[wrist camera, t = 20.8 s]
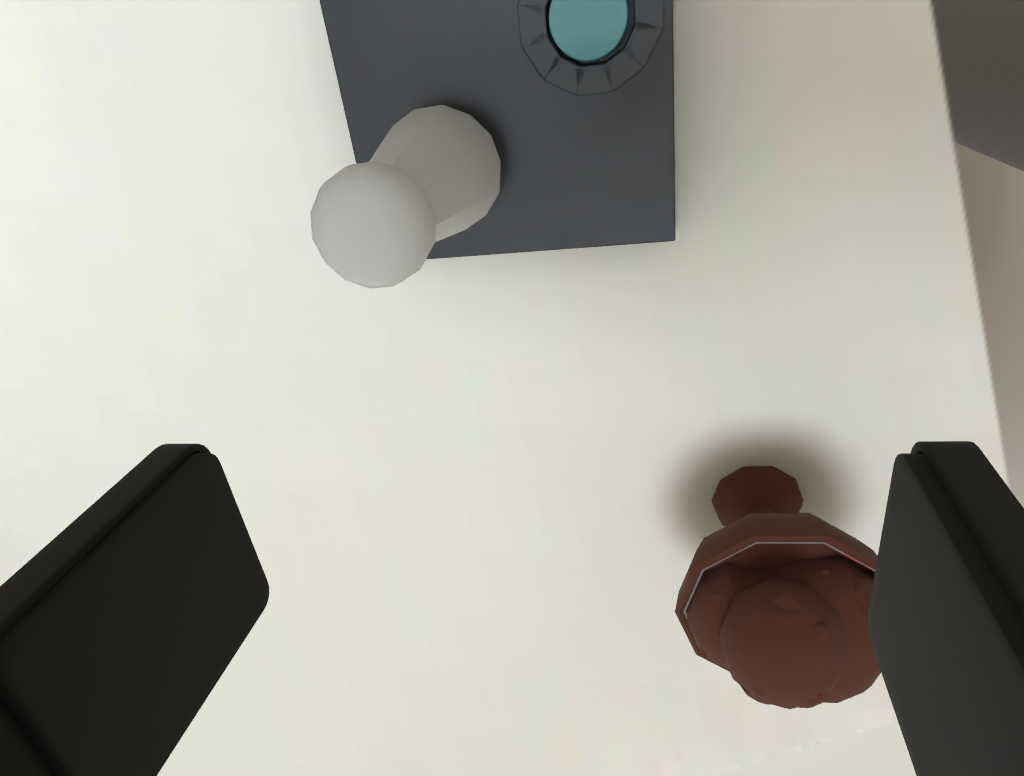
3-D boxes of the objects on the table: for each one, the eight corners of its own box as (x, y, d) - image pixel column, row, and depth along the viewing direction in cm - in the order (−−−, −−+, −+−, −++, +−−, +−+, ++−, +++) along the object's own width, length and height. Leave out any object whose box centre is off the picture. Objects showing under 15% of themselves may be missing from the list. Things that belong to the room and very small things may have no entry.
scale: (669, -88, 29) (673, -99, 26) (673, 230, 36) (677, 251, 33) (328, -31, 32) (296, -34, 29) (389, 252, 39) (368, 273, 36)
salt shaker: (499, 91, 32) (426, 135, 21) (517, 211, 35) (461, 308, 23) (384, 109, 33) (256, 161, 22) (410, 224, 36) (308, 321, 25)
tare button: (626, -34, 28) (626, -36, 26) (629, 53, 29) (629, 55, 28) (549, -22, 28) (544, -23, 27) (556, 62, 30) (552, 65, 28)
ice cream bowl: (651, 543, 46) (658, 750, 33) (702, 409, 41) (734, 596, 28) (804, 580, 46) (871, 805, 33) (878, 450, 40) (993, 659, 27)
